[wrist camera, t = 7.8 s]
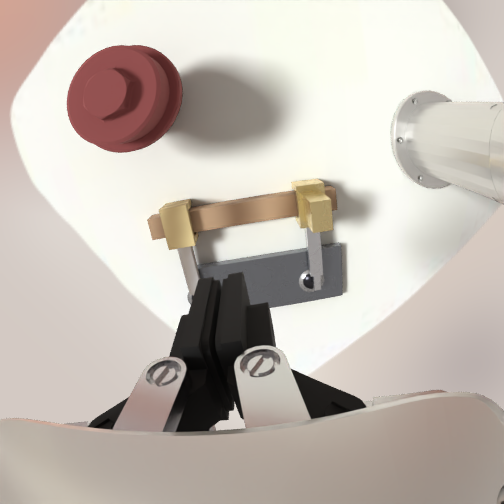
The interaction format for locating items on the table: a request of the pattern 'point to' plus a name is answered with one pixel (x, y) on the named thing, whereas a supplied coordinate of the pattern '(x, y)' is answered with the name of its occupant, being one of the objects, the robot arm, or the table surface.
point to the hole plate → (281, 276)
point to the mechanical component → (124, 98)
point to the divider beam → (218, 221)
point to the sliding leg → (313, 221)
